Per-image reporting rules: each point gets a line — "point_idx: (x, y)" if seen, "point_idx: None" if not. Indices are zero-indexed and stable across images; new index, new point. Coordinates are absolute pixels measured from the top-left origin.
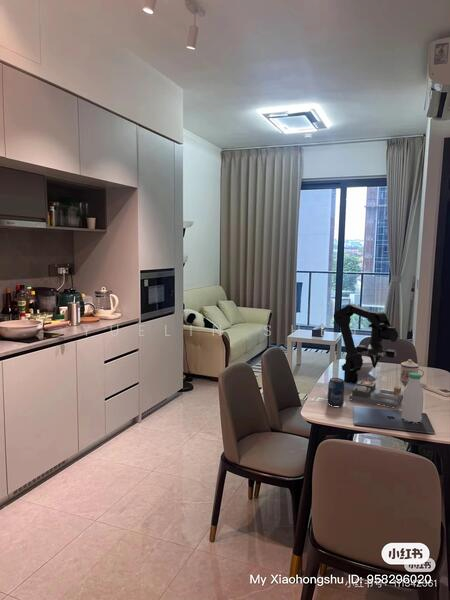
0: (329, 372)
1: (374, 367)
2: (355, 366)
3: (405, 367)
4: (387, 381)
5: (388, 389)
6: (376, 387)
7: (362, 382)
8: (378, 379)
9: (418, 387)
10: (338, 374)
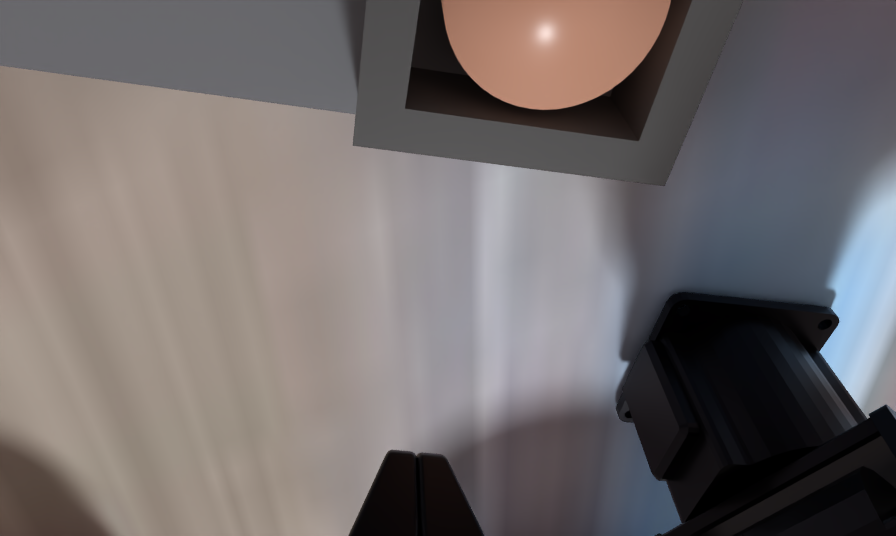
0: None
1: (404, 459)
2: (830, 531)
3: None
4: (267, 511)
5: (94, 75)
6: (339, 107)
7: (661, 14)
8: None
9: None
10: None
